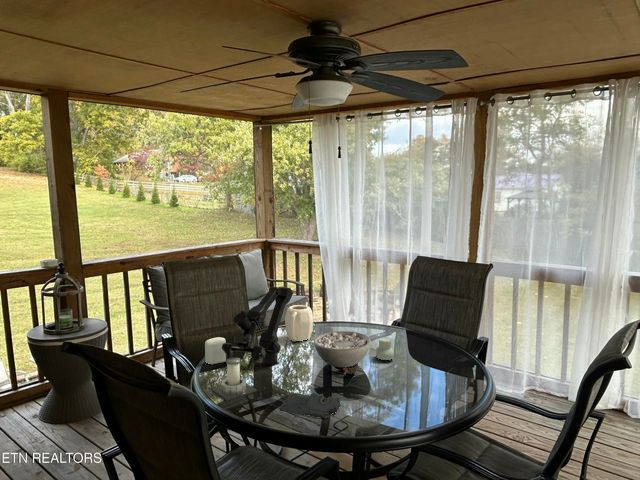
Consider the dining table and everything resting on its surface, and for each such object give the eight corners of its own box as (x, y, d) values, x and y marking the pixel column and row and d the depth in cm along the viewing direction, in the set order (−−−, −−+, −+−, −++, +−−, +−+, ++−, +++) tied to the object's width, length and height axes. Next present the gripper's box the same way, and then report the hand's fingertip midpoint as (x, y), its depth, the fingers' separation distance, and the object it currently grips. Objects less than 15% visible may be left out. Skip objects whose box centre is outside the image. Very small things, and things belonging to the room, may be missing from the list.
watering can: (319, 333, 266) (319, 302, 264) (305, 347, 240) (305, 313, 238) (295, 331, 270) (295, 300, 268) (278, 344, 245) (278, 310, 243)
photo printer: (224, 359, 221) (223, 335, 220) (227, 361, 218) (226, 337, 217) (203, 363, 216) (203, 338, 215) (206, 366, 212) (206, 340, 211)
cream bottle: (239, 385, 189) (239, 356, 188) (241, 390, 183) (241, 361, 182) (225, 387, 187) (225, 358, 186) (227, 392, 181) (227, 363, 180)
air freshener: (394, 363, 217) (394, 343, 217) (377, 362, 218) (378, 343, 217) (391, 355, 228) (391, 336, 227) (375, 355, 229) (375, 336, 228)
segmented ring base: (240, 380, 195) (239, 373, 194) (257, 391, 184) (257, 383, 184) (210, 389, 186) (210, 381, 186) (226, 401, 175) (226, 392, 175)
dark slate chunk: (293, 395, 182) (293, 384, 181) (344, 404, 174) (344, 392, 174) (276, 412, 168) (276, 399, 167) (331, 422, 160) (331, 409, 159)
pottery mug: (357, 369, 210) (361, 358, 206) (353, 385, 202) (357, 373, 198) (333, 361, 212) (336, 350, 207) (328, 377, 204) (331, 365, 199)
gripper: (222, 325, 194) (211, 358, 184) (262, 328, 189) (252, 362, 180) (231, 336, 202) (220, 369, 193) (269, 340, 197) (260, 373, 188)
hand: (238, 368), depth 188 cm, fingers open, 9 cm apart
